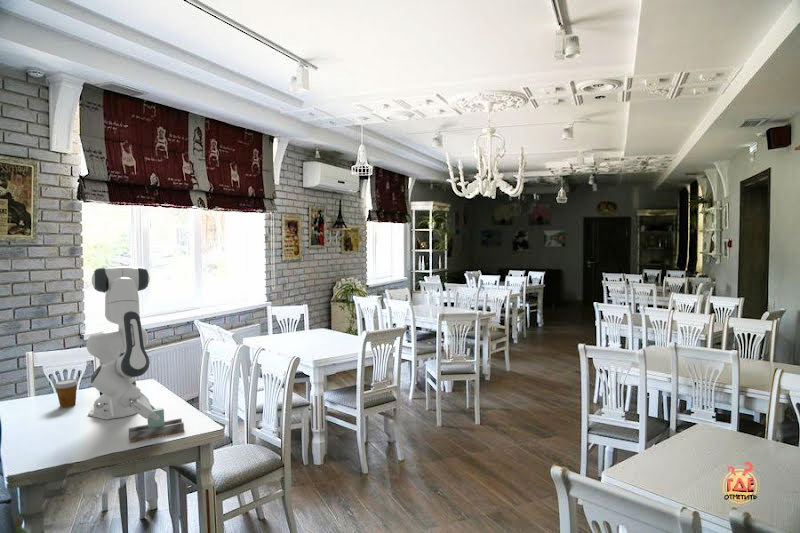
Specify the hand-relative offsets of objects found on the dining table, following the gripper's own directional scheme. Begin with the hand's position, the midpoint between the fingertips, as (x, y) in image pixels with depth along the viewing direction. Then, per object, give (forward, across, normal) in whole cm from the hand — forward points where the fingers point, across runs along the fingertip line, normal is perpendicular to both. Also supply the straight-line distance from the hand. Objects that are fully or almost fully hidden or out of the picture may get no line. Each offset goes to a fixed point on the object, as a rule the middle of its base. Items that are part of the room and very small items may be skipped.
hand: (157, 415), depth 217 cm
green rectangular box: (+4, 0, +5) cm, 7 cm away
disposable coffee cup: (-18, +66, +30) cm, 74 cm away
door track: (+5, 0, +6) cm, 8 cm away
